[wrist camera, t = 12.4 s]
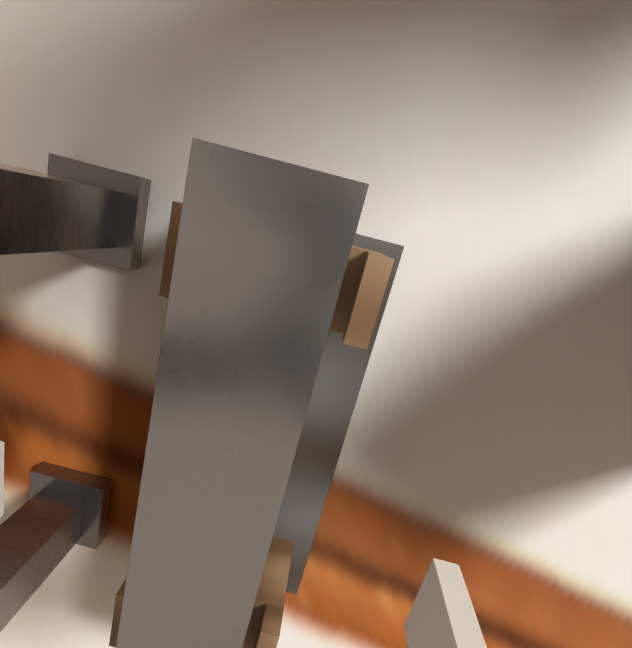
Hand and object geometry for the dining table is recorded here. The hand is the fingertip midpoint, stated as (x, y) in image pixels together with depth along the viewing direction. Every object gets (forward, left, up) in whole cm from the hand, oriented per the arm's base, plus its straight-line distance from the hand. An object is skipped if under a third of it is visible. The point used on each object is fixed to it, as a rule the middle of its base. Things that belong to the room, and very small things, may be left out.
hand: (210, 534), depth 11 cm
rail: (0, 0, -4) cm, 4 cm away
